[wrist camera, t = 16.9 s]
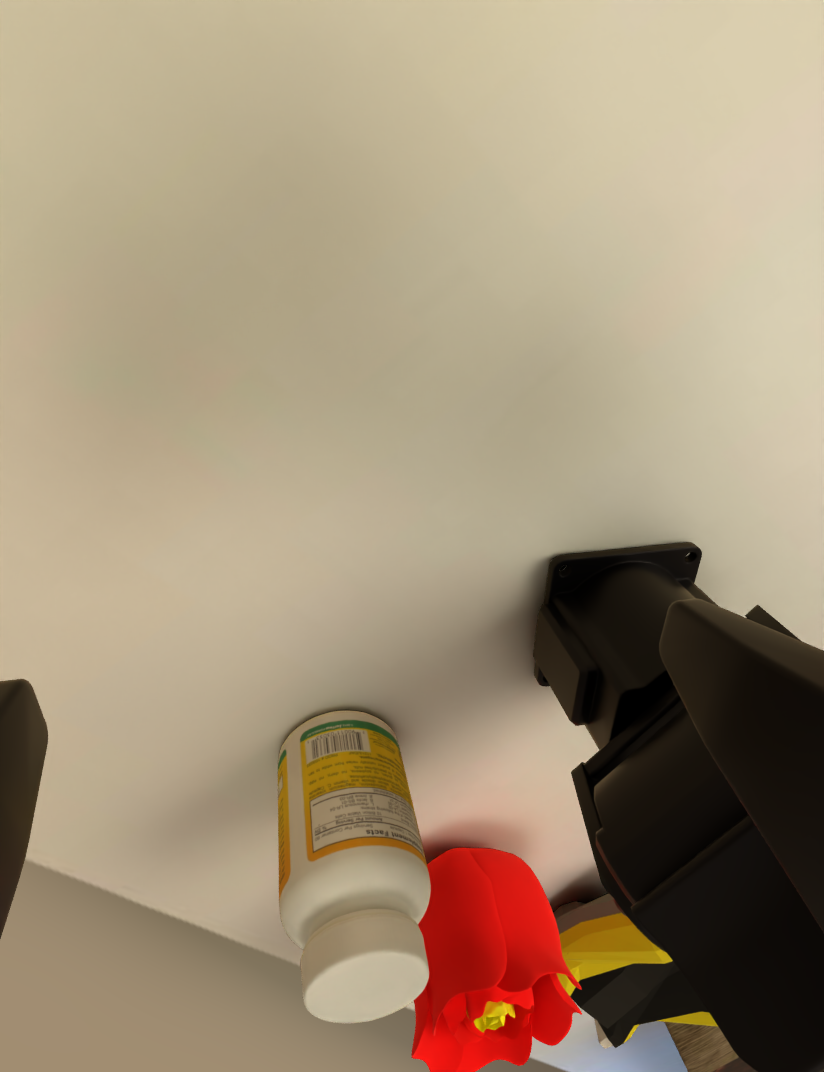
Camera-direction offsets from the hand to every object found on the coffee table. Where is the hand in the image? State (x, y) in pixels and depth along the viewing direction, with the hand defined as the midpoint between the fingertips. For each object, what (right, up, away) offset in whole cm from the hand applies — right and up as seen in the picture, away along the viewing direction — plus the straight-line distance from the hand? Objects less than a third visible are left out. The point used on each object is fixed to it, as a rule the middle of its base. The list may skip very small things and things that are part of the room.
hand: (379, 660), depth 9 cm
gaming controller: (+14, -23, +31) cm, 41 cm away
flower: (+3, -16, +25) cm, 30 cm away
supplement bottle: (-3, -8, +19) cm, 21 cm away
